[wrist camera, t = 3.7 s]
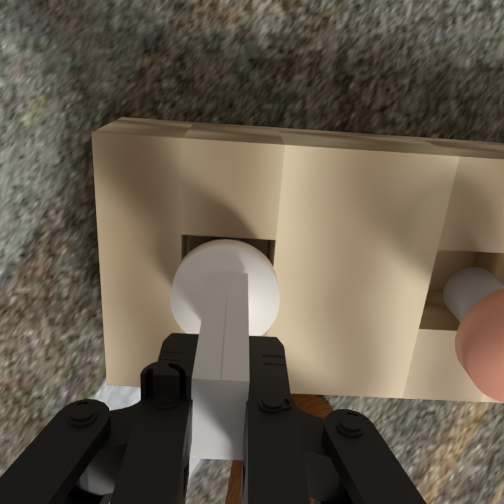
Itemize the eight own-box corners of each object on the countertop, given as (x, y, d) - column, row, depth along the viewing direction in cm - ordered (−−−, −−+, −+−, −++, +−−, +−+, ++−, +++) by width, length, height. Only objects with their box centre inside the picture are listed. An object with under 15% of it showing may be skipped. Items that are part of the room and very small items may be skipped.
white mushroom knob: (183, 290, 24) (169, 345, 19) (184, 208, 22) (169, 247, 18) (269, 295, 24) (275, 350, 20) (276, 214, 22) (284, 253, 18)
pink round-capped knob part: (412, 330, 22) (456, 401, 17) (432, 242, 20) (486, 296, 16) (503, 334, 22) (570, 405, 18) (531, 248, 20) (613, 302, 16)
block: (130, 329, 27) (107, 385, 23) (122, 116, 23) (91, 132, 18) (498, 347, 28) (549, 404, 23) (563, 147, 24) (641, 168, 19)
